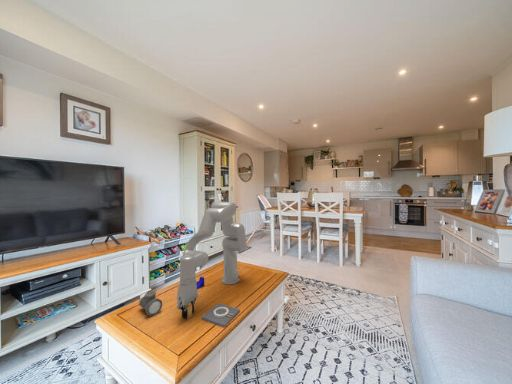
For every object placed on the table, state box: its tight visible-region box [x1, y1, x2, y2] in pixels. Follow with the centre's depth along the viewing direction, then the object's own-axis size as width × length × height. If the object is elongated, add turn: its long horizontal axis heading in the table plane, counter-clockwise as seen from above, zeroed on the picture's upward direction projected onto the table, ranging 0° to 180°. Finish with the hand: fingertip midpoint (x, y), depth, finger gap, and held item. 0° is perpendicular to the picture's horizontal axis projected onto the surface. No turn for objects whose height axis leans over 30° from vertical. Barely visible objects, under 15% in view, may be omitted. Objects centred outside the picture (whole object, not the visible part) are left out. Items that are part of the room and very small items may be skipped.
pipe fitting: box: [138, 290, 163, 317], centre depth 108 cm, size 12×8×10 cm
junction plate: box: [201, 302, 240, 328], centre depth 104 cm, size 14×14×2 cm
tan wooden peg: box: [186, 302, 193, 319], centre depth 104 cm, size 4×4×8 cm
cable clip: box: [196, 276, 205, 290], centre depth 132 cm, size 12×4×6 cm, turn 145°
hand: (188, 314), depth 104 cm, fingers closed on tan wooden peg, 4 cm apart
